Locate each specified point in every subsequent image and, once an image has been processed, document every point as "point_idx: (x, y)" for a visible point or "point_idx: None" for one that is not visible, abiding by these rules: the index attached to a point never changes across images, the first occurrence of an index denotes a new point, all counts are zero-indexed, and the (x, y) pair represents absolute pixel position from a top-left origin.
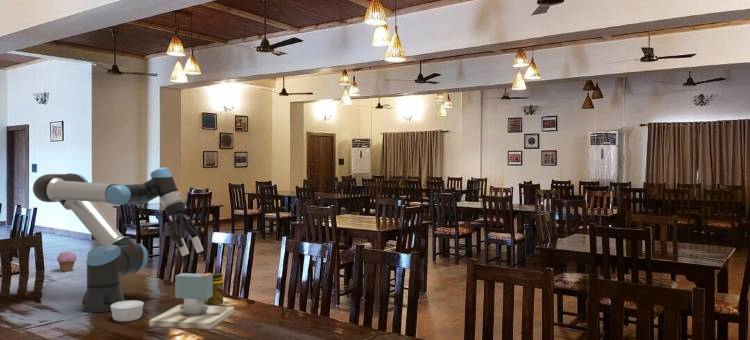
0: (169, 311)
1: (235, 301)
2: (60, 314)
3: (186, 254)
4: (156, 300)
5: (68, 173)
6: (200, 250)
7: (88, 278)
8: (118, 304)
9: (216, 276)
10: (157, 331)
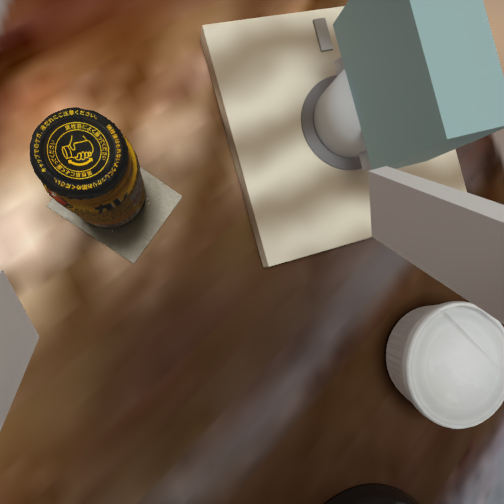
0: (364, 226)
1: (32, 129)
2: None
3: (374, 197)
4: (182, 479)
5: None
6: (12, 301)
7: None
8: (480, 392)
9: (114, 125)
10: (480, 150)
